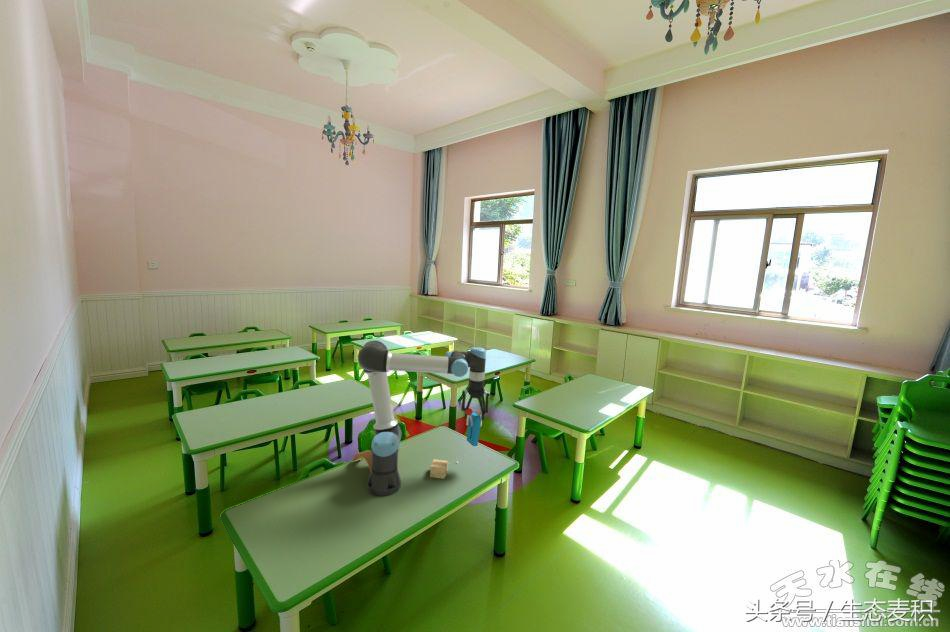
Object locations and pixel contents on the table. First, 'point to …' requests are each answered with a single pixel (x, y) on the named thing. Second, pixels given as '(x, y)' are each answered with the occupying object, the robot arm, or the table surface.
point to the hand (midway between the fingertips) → (474, 424)
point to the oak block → (438, 468)
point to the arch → (366, 455)
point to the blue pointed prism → (473, 427)
